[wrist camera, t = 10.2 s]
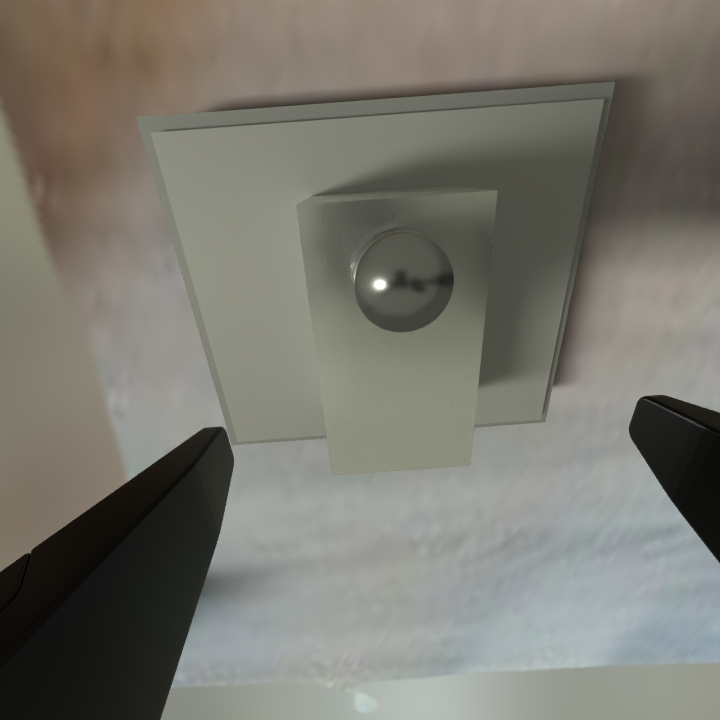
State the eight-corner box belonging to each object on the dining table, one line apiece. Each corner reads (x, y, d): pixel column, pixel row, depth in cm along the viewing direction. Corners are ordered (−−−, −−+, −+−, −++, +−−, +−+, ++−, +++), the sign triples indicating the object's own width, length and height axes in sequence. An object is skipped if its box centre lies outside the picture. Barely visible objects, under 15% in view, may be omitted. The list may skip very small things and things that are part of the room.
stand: (572, 96, 14) (623, 78, 12) (523, 394, 21) (549, 426, 18) (170, 126, 14) (129, 116, 12) (244, 414, 21) (229, 450, 18)
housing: (441, 397, 17) (481, 491, 12) (335, 404, 17) (330, 502, 12) (451, 185, 13) (518, 192, 8) (311, 195, 13) (288, 209, 8)
